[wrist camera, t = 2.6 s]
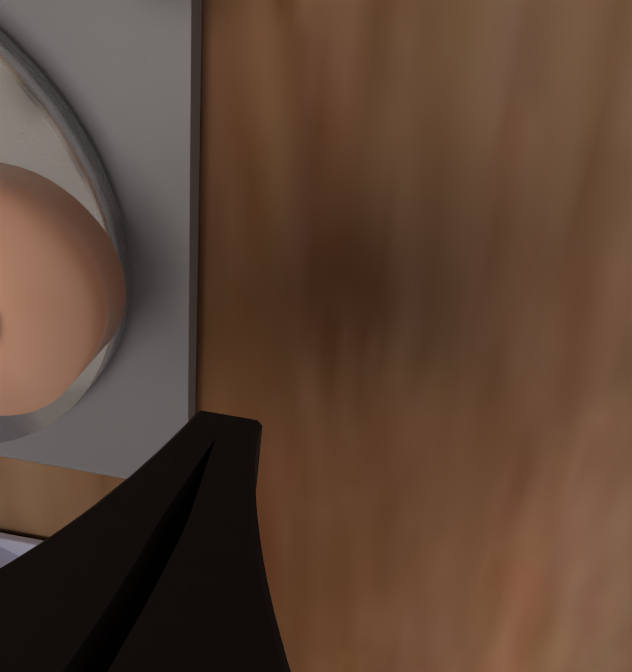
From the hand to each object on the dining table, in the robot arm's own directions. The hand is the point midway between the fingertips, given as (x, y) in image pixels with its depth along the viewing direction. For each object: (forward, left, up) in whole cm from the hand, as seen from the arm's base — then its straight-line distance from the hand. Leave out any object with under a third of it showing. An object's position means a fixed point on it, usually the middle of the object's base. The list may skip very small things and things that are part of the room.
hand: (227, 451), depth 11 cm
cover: (0, +9, -6) cm, 11 cm away
